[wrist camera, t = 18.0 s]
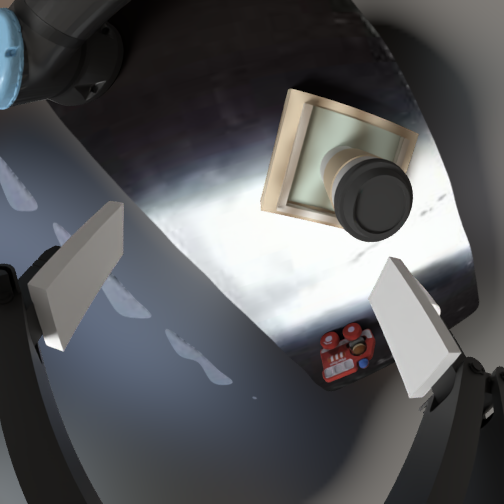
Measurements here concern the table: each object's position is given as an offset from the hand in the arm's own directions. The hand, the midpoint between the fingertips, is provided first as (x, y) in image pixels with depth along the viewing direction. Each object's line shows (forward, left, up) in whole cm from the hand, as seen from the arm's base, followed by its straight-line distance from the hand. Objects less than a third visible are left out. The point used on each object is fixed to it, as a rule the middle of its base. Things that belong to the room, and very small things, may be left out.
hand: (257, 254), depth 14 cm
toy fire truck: (+28, -35, -33) cm, 56 cm away
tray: (+13, 0, -33) cm, 35 cm away
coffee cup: (+13, 0, -29) cm, 31 cm away
